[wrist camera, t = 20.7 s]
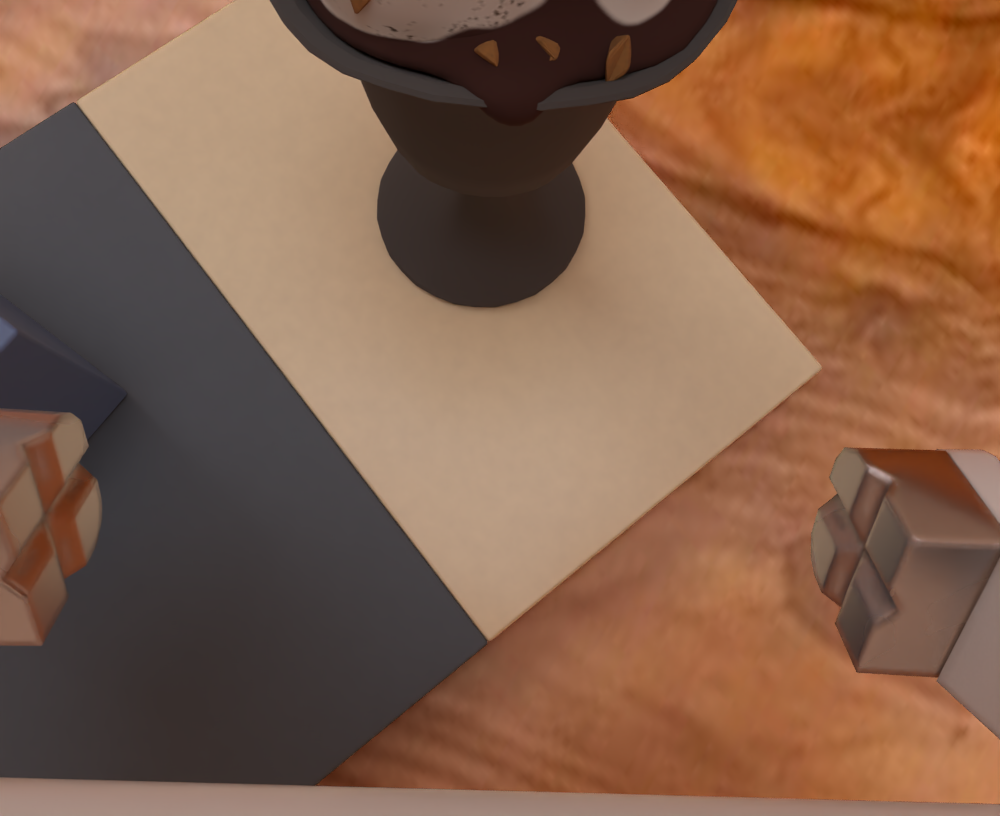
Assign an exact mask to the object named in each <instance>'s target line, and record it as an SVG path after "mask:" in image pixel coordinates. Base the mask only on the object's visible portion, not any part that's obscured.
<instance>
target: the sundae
mask: <svg viewBox="0 0 1000 816" xmlns="http://www.w3.org/2000/svg"><path fill="white" fill-rule="evenodd" d="M270 2H271V4H272V5H273V7H274V9H275V10H276V12H277V14H278V15H279V17H280V19H281V21H282V22H283V23H284V25H285V26H286V27H287V28H288V30H289V31H290V32H291V33H292V34H293V35H294V36H295V37H296V38H297V39H298V40H299V42H300V43H301V44H302V45H303V46H304V47H305V48H306V49H307V50H308V51H309V52H310V53H311V54H313V55H315V56H316V57H318V58H319V59H321V60H322V61H324V62H325V63H327V64H328V65H330V66H331V67H333V68H334V69H336V70H337V71H339V72H340V73H342V74H344V75H347V76H350V77H353V78H355V79H358V80H361V83H362V85H363V88H364V90H365V92H366V95H367V97H368V99H369V102H370V104H371V107H372V109H373V111H374V112H375V114H376V116H377V117H378V119H379V120H380V122H381V124H382V125H383V127H384V129H385V130H386V132H387V134H388V135H389V137H390V138H391V140H392V142H393V143H394V145H395V147H396V148H397V151H396V153H395V154H394V156H393V157H392V159H391V160H390V162H389V164H388V166H387V168H386V170H385V172H384V174H383V176H382V178H381V181H380V187H379V193H378V199H377V221H378V225H379V229H380V232H381V236H382V239H383V242H384V244H385V246H386V249H387V251H388V254H389V256H390V257H391V259H392V260H393V261H394V262H395V264H396V265H397V266H398V267H399V269H400V270H401V271H402V272H403V273H404V274H405V275H406V276H407V277H408V278H409V279H410V280H411V281H412V282H413V283H414V284H415V285H416V286H417V287H419V288H421V289H423V290H424V291H426V292H428V293H430V294H431V295H433V296H435V297H438V298H440V299H443V300H445V301H447V302H450V303H452V304H456V305H464V306H471V307H499V306H503V305H507V304H511V303H515V302H518V301H521V300H523V299H526V298H529V297H531V296H534V295H536V294H537V293H539V292H540V291H541V290H543V289H544V288H545V287H547V286H548V285H550V284H551V283H552V282H553V281H554V280H555V279H556V278H557V277H558V276H559V275H560V274H562V273H563V272H564V271H565V270H566V268H567V267H568V265H569V263H570V262H571V260H572V258H573V256H574V255H575V253H576V251H577V248H578V246H579V244H580V241H581V239H582V237H583V233H584V224H585V195H584V191H583V188H582V185H581V182H580V179H579V176H578V174H577V172H576V170H575V168H574V165H573V161H574V160H575V159H576V158H577V156H578V155H579V154H580V153H581V152H582V150H583V149H584V148H585V147H586V145H587V144H588V143H589V142H590V141H591V139H592V138H593V137H594V136H595V135H596V133H597V132H598V131H599V130H600V128H601V127H602V125H603V124H604V122H605V120H606V119H607V117H608V115H609V113H610V112H611V110H612V108H613V107H614V105H615V103H616V101H619V100H625V99H630V98H634V97H636V96H638V95H641V94H643V93H645V92H647V91H650V90H652V89H654V88H656V87H658V86H661V85H663V84H665V83H667V82H669V81H670V80H672V79H673V78H674V77H675V76H676V75H678V74H679V73H680V72H681V71H683V70H684V69H685V68H686V67H688V66H689V65H690V64H691V63H693V62H694V61H695V60H696V59H697V58H698V57H699V55H700V54H701V53H702V52H703V50H704V49H705V48H706V47H707V45H708V44H709V43H710V42H711V40H712V39H713V38H714V37H715V36H716V34H717V33H718V32H719V31H720V29H721V28H722V27H723V26H724V24H725V23H726V22H727V20H728V18H729V16H730V14H731V12H732V10H733V8H734V6H735V4H736V2H737V0H270Z"/></svg>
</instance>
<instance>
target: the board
mask: <svg viewBox="0 0 1000 816" xmlns="http://www.w3.org/2000/svg"><path fill="white" fill-rule="evenodd" d="M396 151H397V148H396V147H395V145H394V143H393V142H392V140H391V138H390V137H389V135H388V134H387V132H386V130H385V129H384V127H383V125H382V124H381V122H380V120H379V119H378V117H377V116H376V114H375V112H374V111H373V109H372V107H371V104H370V102H369V99H368V97H367V95H366V92H365V90H364V88H363V85H362V83H361V80H358V79H355V78H353V77H350V76H347V75H344V74H342V73H340V72H339V71H337V70H336V69H334V68H333V67H331V66H330V65H328V64H327V63H325V62H324V61H322V60H321V59H319V58H318V57H316V56H315V55H313V54H311V53H310V52H309V51H308V50H307V49H306V48H305V47H304V46H303V45H302V44H301V43H300V42H299V40H298V39H297V38H296V37H295V36H294V35H293V34H292V33H291V32H290V31H289V30H288V28H287V27H286V26H285V25H284V23H283V22H282V21H281V19H280V17H279V15H278V14H277V12H276V10H275V9H274V7H273V5H272V4H271V2H270V0H234V1H233V2H231V3H230V4H228V5H226V6H225V7H223V8H222V9H220V10H219V11H217V12H215V13H214V14H212V15H211V16H209V17H208V18H206V19H204V20H203V21H201V22H200V23H198V24H197V25H195V26H193V27H192V28H190V29H189V30H187V31H186V32H184V33H182V34H181V35H179V36H178V37H176V38H175V39H173V40H171V41H170V42H168V43H167V44H165V45H163V46H162V47H160V48H159V49H157V50H156V51H154V52H152V53H151V54H149V55H148V56H146V57H145V58H143V59H141V60H140V61H138V62H137V63H135V64H134V65H132V66H130V67H129V68H127V69H126V70H124V71H123V72H121V73H119V74H118V75H116V76H115V77H113V78H112V79H110V80H108V81H107V82H105V83H104V84H102V85H101V86H99V87H97V88H96V89H94V90H93V91H91V92H89V93H88V94H86V95H85V96H83V97H82V98H80V99H78V100H77V104H76V103H74V102H73V103H71V104H69V105H68V106H66V107H65V108H63V109H61V110H60V111H58V112H57V113H55V114H54V115H52V116H50V117H49V118H47V119H46V120H44V121H42V122H41V123H39V124H38V125H36V126H35V127H33V128H31V129H30V130H28V131H27V132H25V133H24V134H22V135H20V136H19V137H17V138H16V139H14V140H13V141H11V142H9V143H8V144H6V145H5V146H3V147H2V148H0V295H2V296H3V297H4V298H6V299H7V300H8V301H10V302H11V303H12V304H13V305H15V306H16V307H17V308H19V309H20V310H21V311H23V312H24V313H25V314H26V315H28V316H29V317H30V318H32V319H33V320H34V321H36V322H37V323H38V324H39V325H41V326H42V327H43V328H45V329H46V330H47V331H48V332H50V333H51V334H52V335H54V336H55V337H56V338H58V339H59V340H60V341H61V342H63V343H64V344H65V345H67V346H68V347H69V348H71V349H72V350H73V351H74V352H76V353H77V354H78V355H80V356H81V357H82V358H84V359H85V360H86V361H87V362H89V363H90V364H91V365H93V366H94V367H95V368H97V369H98V370H99V371H100V372H102V373H103V374H104V375H106V376H107V377H108V378H110V379H111V380H112V381H113V382H115V383H116V384H117V385H119V386H120V387H121V388H123V389H124V390H125V391H126V393H127V394H126V396H125V397H124V399H123V400H122V401H121V402H120V403H119V404H118V405H117V407H116V408H115V409H114V410H113V411H112V412H111V414H110V415H109V416H108V417H107V418H106V419H105V420H104V422H103V423H102V424H101V425H100V426H99V427H98V429H97V430H96V431H95V432H94V433H93V434H92V435H91V437H90V438H89V439H88V440H87V442H88V445H89V447H88V448H87V450H86V452H85V453H84V455H83V456H82V458H81V459H80V461H79V464H81V465H82V466H83V467H84V468H85V469H86V470H87V471H88V472H89V473H90V474H91V475H92V476H94V477H95V478H96V479H97V481H98V485H99V490H100V494H101V498H102V523H101V528H100V532H99V537H98V541H97V546H96V547H95V549H94V551H93V553H92V555H91V557H90V559H89V561H88V563H87V565H86V566H84V567H83V568H81V569H80V570H78V571H77V572H75V573H73V574H72V575H70V576H69V577H67V578H66V579H64V580H65V583H66V587H67V590H68V594H69V598H68V600H67V602H66V603H65V605H64V607H63V609H62V611H61V612H60V614H59V616H58V618H57V620H56V621H55V623H54V625H53V627H52V629H51V630H50V632H49V634H48V636H47V638H46V639H45V641H44V643H43V645H42V646H0V777H5V778H43V779H81V780H118V781H156V782H194V783H231V784H269V785H307V786H315V785H316V784H317V783H319V782H320V781H321V780H322V779H324V778H325V777H326V776H327V775H328V774H330V773H331V772H332V771H333V770H334V769H336V768H337V767H338V766H339V765H341V764H342V763H343V762H344V761H345V760H347V759H348V758H349V757H350V756H352V755H353V754H354V753H355V752H356V751H358V750H359V749H360V748H361V747H363V746H364V745H365V744H366V743H367V742H369V741H370V740H371V739H372V738H374V737H375V736H376V735H377V734H378V733H380V732H381V731H382V730H383V729H384V728H386V727H387V726H388V725H389V724H391V723H392V722H393V721H394V720H395V719H397V718H398V717H399V716H400V715H402V714H403V713H404V712H405V711H406V710H408V709H409V708H410V707H411V706H413V705H414V704H415V703H416V702H417V701H419V700H420V699H421V698H422V697H423V696H425V695H426V694H427V693H428V692H430V691H431V690H432V689H433V688H434V687H436V686H437V685H438V684H439V683H441V682H442V681H443V680H444V679H445V678H447V677H448V676H449V675H450V674H452V673H453V672H454V671H455V670H456V669H458V668H459V667H460V666H461V665H463V664H464V663H465V662H466V661H467V660H469V659H470V658H471V657H472V656H473V655H475V654H476V653H477V652H478V651H480V650H481V649H482V648H483V647H484V646H486V645H487V640H488V641H491V640H493V639H494V638H495V637H496V636H498V635H499V634H500V633H501V632H503V631H504V630H505V629H506V628H507V627H509V626H510V625H511V624H512V623H514V622H515V621H516V620H517V619H518V618H520V617H521V616H522V615H523V614H524V613H526V612H527V611H528V610H529V609H531V608H532V607H533V606H534V605H535V604H537V603H538V602H539V601H540V600H542V599H543V598H544V597H545V596H546V595H548V594H549V593H550V592H551V591H553V590H554V589H555V588H556V587H557V586H559V585H560V584H561V583H562V582H564V581H565V580H566V579H567V578H568V577H570V576H571V575H572V574H573V573H574V572H576V571H577V570H578V569H579V568H581V567H582V566H583V565H584V564H585V563H587V562H588V561H589V560H590V559H592V558H593V557H594V556H595V555H596V554H598V553H599V552H600V551H601V550H603V549H604V548H605V547H606V546H607V545H609V544H610V543H611V542H612V541H614V540H615V539H616V538H617V537H618V536H620V535H621V534H622V533H623V532H624V531H626V530H627V529H628V528H629V527H631V526H632V525H633V524H634V523H635V522H637V521H638V520H639V519H640V518H642V517H643V516H644V515H645V514H646V513H648V512H649V511H650V510H651V509H653V508H654V507H655V506H656V505H657V504H659V503H660V502H661V501H662V500H663V499H665V498H666V497H667V496H668V495H670V494H671V493H672V492H673V491H674V490H676V489H677V488H678V487H679V486H681V485H682V484H683V483H684V482H685V481H687V480H688V479H689V478H690V477H692V476H693V475H694V474H695V473H696V472H698V471H699V470H700V469H701V468H703V467H704V466H705V465H706V464H707V463H709V462H710V461H711V460H712V459H713V458H715V457H716V456H717V455H718V454H720V453H721V452H722V451H723V450H724V449H726V448H727V447H728V446H729V445H731V444H732V443H733V442H734V441H735V440H737V439H738V438H739V437H740V436H742V435H743V434H744V433H745V432H746V431H748V430H749V429H750V428H751V427H752V426H754V425H755V424H756V423H757V422H759V421H760V420H761V419H762V418H763V417H765V416H766V415H767V414H768V413H770V412H771V411H772V410H773V409H774V408H776V407H777V406H778V405H779V404H781V403H782V402H783V401H784V400H785V399H787V398H788V397H789V396H790V395H792V394H793V393H794V392H795V391H796V390H798V389H799V388H800V387H801V386H802V385H804V384H805V383H806V382H807V381H809V380H810V379H811V378H812V377H813V376H815V375H816V374H817V373H818V372H820V371H821V369H822V366H821V364H820V363H819V362H818V361H817V360H816V359H815V358H814V356H813V355H812V354H811V353H810V352H809V351H808V349H807V348H806V347H805V346H804V345H803V344H802V343H801V341H800V340H799V339H798V338H797V337H796V336H795V334H794V333H793V332H792V331H791V330H790V329H789V328H788V326H787V325H786V324H785V323H784V322H783V321H782V320H781V318H780V317H779V316H778V315H777V314H776V313H775V311H774V310H773V309H772V308H771V307H770V306H769V305H768V303H767V302H766V301H765V300H764V299H763V298H762V296H761V295H760V294H759V293H758V292H757V291H756V290H755V288H754V287H753V286H752V285H751V284H750V283H749V281H748V280H747V279H746V278H745V277H744V276H743V275H742V273H741V272H740V271H739V270H738V269H737V268H736V266H735V265H734V264H733V263H732V262H731V261H730V260H729V258H728V257H727V256H726V255H725V254H724V253H723V251H722V250H721V249H720V248H719V247H718V246H717V245H716V243H715V242H714V241H713V240H712V239H711V238H710V236H709V235H708V234H707V233H706V232H705V231H704V230H703V228H702V227H701V226H700V225H699V224H698V223H697V221H696V220H695V219H694V218H693V217H692V216H691V215H690V213H689V212H688V211H687V210H686V209H685V208H684V206H683V205H682V204H681V203H680V202H679V201H678V200H677V198H676V197H675V196H674V195H673V194H672V193H671V191H670V190H669V189H668V188H667V187H666V186H665V185H664V183H663V182H662V181H661V180H660V179H659V178H658V176H657V175H656V174H655V173H654V172H653V171H652V170H651V168H650V167H649V166H648V165H647V164H646V163H645V161H644V160H643V159H642V158H641V157H640V156H639V155H638V153H637V152H636V151H635V150H634V149H633V148H632V146H631V145H630V144H629V143H628V142H627V141H626V140H625V138H624V137H623V136H622V135H621V134H620V133H619V131H618V130H617V129H616V128H615V127H614V126H613V125H612V123H611V122H610V121H609V120H608V119H606V120H605V122H604V124H603V125H602V127H601V128H600V130H599V131H598V132H597V133H596V135H595V136H594V137H593V138H592V139H591V141H590V142H589V143H588V144H587V145H586V147H585V148H584V149H583V150H582V152H581V153H580V154H579V155H578V156H577V158H576V159H575V160H574V161H573V165H574V168H575V170H576V172H577V174H578V176H579V179H580V182H581V185H582V188H583V191H584V195H585V224H584V233H583V237H582V239H581V241H580V244H579V246H578V248H577V251H576V253H575V255H574V256H573V258H572V260H571V262H570V263H569V265H568V267H567V268H566V270H565V271H564V272H563V273H562V274H560V275H559V276H558V277H557V278H556V279H555V280H554V281H553V282H552V283H551V284H550V285H548V286H547V287H545V288H544V289H543V290H541V291H540V292H539V293H537V294H536V295H534V296H531V297H529V298H526V299H523V300H521V301H518V302H515V303H511V304H507V305H503V306H499V307H471V306H464V305H456V304H452V303H450V302H447V301H445V300H443V299H440V298H438V297H435V296H433V295H431V294H430V293H428V292H426V291H424V290H423V289H421V288H419V287H417V286H416V285H415V284H414V283H413V282H412V281H411V280H410V279H409V278H408V277H407V276H406V275H405V274H404V273H403V272H402V271H401V270H400V269H399V267H398V266H397V265H396V264H395V262H394V261H393V260H392V259H391V257H390V256H389V254H388V251H387V249H386V246H385V244H384V242H383V239H382V236H381V232H380V229H379V225H378V221H377V199H378V193H379V187H380V181H381V178H382V176H383V174H384V172H385V170H386V168H387V166H388V164H389V162H390V160H391V159H392V157H393V156H394V154H395V153H396Z"/></svg>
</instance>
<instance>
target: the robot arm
mask: <svg viewBox="0 0 1000 816" xmlns="http://www.w3.org/2000/svg"><path fill="white" fill-rule="evenodd" d="M88 447H89V445H88V442H87V438H86V435H85V432H84V428H83V425H82V421H81V420H80V419H79V418H77V417H76V416H75V415H73V414H72V413H69V412H53V411H38V410H22V409H6V408H0V646H42V645H43V643H44V641H45V639H46V638H47V636H48V634H49V632H50V630H51V629H52V627H53V625H54V623H55V621H56V620H57V618H58V616H59V614H60V612H61V611H62V609H63V607H64V605H65V603H66V602H67V600H68V598H69V594H68V590H67V587H66V583H65V580H64V579H66V578H67V577H69V576H70V575H72V574H73V573H75V572H77V571H78V570H80V569H81V568H83V567H84V566H86V565H87V563H88V561H89V559H90V557H91V555H92V553H93V551H94V549H95V547H96V546H97V541H98V537H99V532H100V528H101V523H102V498H101V494H100V490H99V485H98V481H97V479H96V478H95V477H94V476H92V475H91V474H90V473H89V472H88V471H87V470H86V469H85V468H84V467H83V466H82V465H81V464H79V461H80V459H81V458H82V456H83V455H84V453H85V452H86V450H87V448H88ZM829 478H830V480H831V482H832V484H833V486H834V488H835V490H836V492H837V495H835V496H834V497H833V498H832V499H830V500H829V501H828V502H827V503H825V504H824V505H823V506H822V507H820V508H819V509H818V512H817V516H816V519H815V522H814V526H813V529H812V533H811V561H812V566H813V571H814V575H815V578H816V580H817V582H818V585H819V587H820V590H821V592H822V593H823V594H824V595H826V596H827V597H828V598H830V599H831V600H832V601H834V602H835V603H836V604H837V605H839V606H840V607H841V609H840V612H839V614H838V617H837V619H836V622H835V625H836V627H837V629H838V631H839V634H840V636H841V638H842V640H843V643H844V645H845V647H846V649H847V652H848V654H849V656H850V658H851V661H852V663H853V665H854V667H855V670H856V672H857V673H872V674H889V675H906V676H922V677H938V679H937V682H938V683H939V684H940V685H941V686H942V687H943V688H945V689H946V690H947V691H948V692H949V693H950V694H951V695H952V696H953V697H954V698H955V699H957V700H958V701H959V702H960V703H961V704H962V705H963V706H964V707H965V708H966V709H967V710H968V711H970V712H971V713H972V714H973V715H974V716H975V717H976V718H977V719H978V720H979V721H980V722H982V723H983V724H984V725H985V726H986V727H987V728H988V729H989V730H990V731H991V732H992V733H993V734H995V735H996V736H997V737H998V738H999V739H1000V461H999V460H998V459H997V457H996V456H994V455H992V454H990V453H988V452H986V451H984V450H960V449H937V450H910V449H878V448H846V447H845V448H844V449H843V450H842V452H841V453H840V454H839V456H838V457H837V458H836V460H835V463H834V466H833V468H832V471H831V474H830V477H829ZM0 816H1000V804H978V803H940V802H902V801H865V800H828V799H792V798H755V797H718V796H681V795H645V794H608V793H571V792H533V791H495V790H458V789H420V788H382V787H344V786H307V785H269V784H231V783H194V782H156V781H118V780H81V779H43V778H5V777H0Z"/></svg>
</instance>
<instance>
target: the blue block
mask: <svg viewBox="0 0 1000 816" xmlns="http://www.w3.org/2000/svg"><path fill="white" fill-rule="evenodd" d="M126 394H127V393H126V391H125V390H124V389H123V388H121V387H120V386H119V385H117V384H116V383H115V382H113V381H112V380H111V379H110V378H108V377H107V376H106V375H104V374H103V373H102V372H100V371H99V370H98V369H97V368H95V367H94V366H93V365H91V364H90V363H89V362H87V361H86V360H85V359H84V358H82V357H81V356H80V355H78V354H77V353H76V352H74V351H73V350H72V349H71V348H69V347H68V346H67V345H65V344H64V343H63V342H61V341H60V340H59V339H58V338H56V337H55V336H54V335H52V334H51V333H50V332H48V331H47V330H46V329H45V328H43V327H42V326H41V325H39V324H38V323H37V322H36V321H34V320H33V319H32V318H30V317H29V316H28V315H26V314H25V313H24V312H23V311H21V310H20V309H19V308H17V307H16V306H15V305H13V304H12V303H11V302H10V301H8V300H7V299H6V298H4V297H3V296H2V295H0V408H6V409H22V410H38V411H53V412H69V413H72V414H73V415H75V416H76V417H77V418H79V419H80V420H81V421H82V425H83V428H84V432H85V435H86V438H87V440H88V439H89V438H90V437H91V435H92V434H93V433H94V432H95V431H96V430H97V429H98V427H99V426H100V425H101V424H102V423H103V422H104V420H105V419H106V418H107V417H108V416H109V415H110V414H111V412H112V411H113V410H114V409H115V408H116V407H117V405H118V404H119V403H120V402H121V401H122V400H123V399H124V397H125V396H126Z"/></svg>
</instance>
